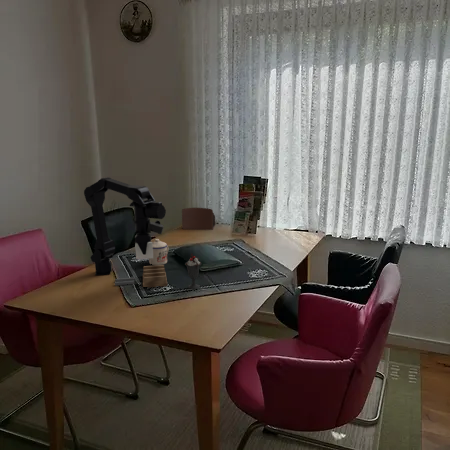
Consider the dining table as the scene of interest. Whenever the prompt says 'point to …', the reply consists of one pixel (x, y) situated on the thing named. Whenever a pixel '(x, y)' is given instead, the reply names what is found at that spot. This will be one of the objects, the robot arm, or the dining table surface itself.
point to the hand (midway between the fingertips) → (144, 253)
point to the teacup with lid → (159, 253)
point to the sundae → (193, 270)
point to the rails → (124, 281)
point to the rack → (154, 276)
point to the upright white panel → (148, 252)
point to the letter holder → (198, 218)
